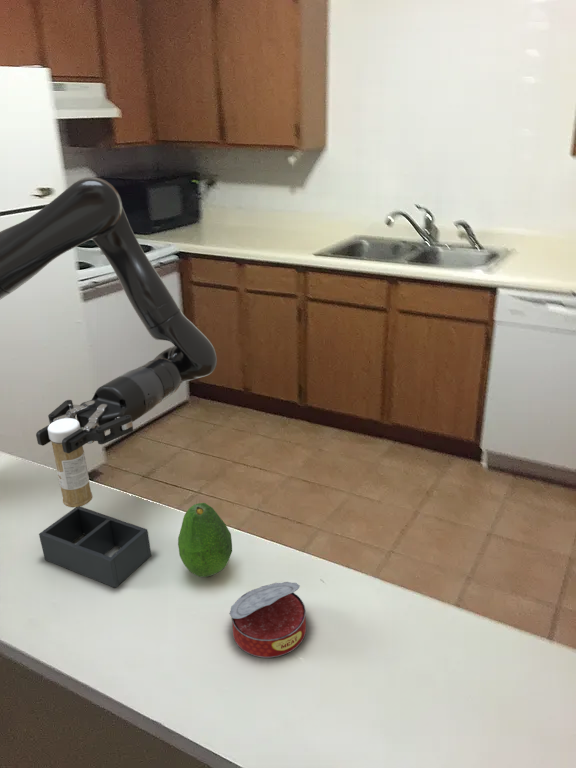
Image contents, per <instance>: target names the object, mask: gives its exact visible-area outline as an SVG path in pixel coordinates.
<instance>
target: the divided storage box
mask: <svg viewBox="0 0 576 768" xmlns="http://www.w3.org/2000/svg"><path fill="white" fill-rule="evenodd" d="M82 535H85V536H83V537H82ZM38 536H39V541H40V545H41V549H42V555H43V558H44V560H45V561H47V562H50V563H52V564H53V565H54V564H55V565H57V566H59V567H62V568H63V569H67V570H70V571H71V572H74V573H77V574H79V575H81V576H84V577H87V578H89V579H92V580H94V581H97V582H99V583H102V584H104V585H107V586H109V587H112V588H114V589H116V588H117V587H118V586H119V585H120V584H122V583H123V582H124V581H125V580H127V578H128V577H130V575H132V574H133V573H134V572H135V570H137V569H138V568H139V567H140V566H141V565H142V564H143V563H145V562H147V560H148V559H149V558H150V557H152V550H151V544H150V537H149V530H148V528H145V527H142V526H139V525H135V524H133V523H130V522H127V521H124V520H121V519H119V518H115V517H113V516H109V515H106V514H103V513H101V512H98V511H95V510H92V509H89V508H86V507H83V506H80V507H73V508H72V509H71V510H69V512H66V514H63V516H61V517H60V518H58V519H57V520H56V521H54V522H53V523H51V524H50V525H49V526H47V527H46V528H45V529H43V530H42V531H41V532H40V533H38ZM80 537H82V538H81V539H80V540H78V541H77V542H74V541H76V540H77V539H78V538H80ZM114 547H117V548H119V549H118V550H116V552H114V553H113V554H112V555H111V556H109V555H105V554H106V553H108V552H109V551H110V550H112V548H114Z"/></svg>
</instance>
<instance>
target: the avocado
mask: <svg viewBox="0 0 576 768" xmlns="http://www.w3.org/2000/svg"><path fill="white" fill-rule="evenodd" d="M179 530H180V531H179V534H178V538H177V545H178V554H179V557H180V559H181V561H182V563H183V565H184V566H185V568H186V569H187V570H188V571H189V572H190V573H191V574H193V575H195V576H197V577H201V578H202V577H206V578H207V577H211V576H213V575H216V574H218V573H219V572H221V571H222V570H224V569H225V568H226V566H227V565H228V563H229V561H230V559H231V556H232V553H233V541H232V533H231V531H230V530H229V527H228V526H227V524H226V523H225V522H224V520H223V519H222V518H221V517H220V515H219V514H218V512H217V511H216V510H215V509H214V508H213V507H212V506H211V505H209V504H207V503H206V502H198V503H195V504H193V505H191V506H190V507H189V508H188V509H187V511H186V512H185V513H184V515H183V518H182V522H181V527H180V529H179Z"/></svg>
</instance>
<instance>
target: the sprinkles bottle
mask: <svg viewBox="0 0 576 768" xmlns="http://www.w3.org/2000/svg"><path fill="white" fill-rule="evenodd" d="M48 425H49V426H48ZM48 425H47V426H48V434H49V439H50V440H51V442H50V443H51V446H52V450H53V456H54V463H55V469H56V473H57V478H58V483H59V486H60V490H61V496H62V503H63V505H65V506H66V507H67V508H75V507H83V506H85V505H88V504H89V503H90V502H91V501H92V499H93V498H94V496H93V495H94V494H93V492H92V490H91V485H90V477H89V470H88V464H87V460H86V459H87V458H86V455H85V450H84V445H83V446H81V447H80V448H78V449H77V450H74V451H72V452H71V453H65V452H64V451H63V447H62V440H63V439H64V438H66V437H68V436H69V435H71V434H73V433H74V432H76V431H78V430H79V429H81V428H80V424H79V422H78V421H77V418H75V419H72V418H64V419H59V420H56V421H54V422H52V423H51V424H50V423H49V424H48Z"/></svg>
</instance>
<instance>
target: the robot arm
mask: <svg viewBox="0 0 576 768" xmlns="http://www.w3.org/2000/svg"><path fill="white" fill-rule="evenodd" d="M90 240H92V241H93V242H94V243H95V244H96V246H97V247H98V248H99V249H100V251H101V253H103V255H104V256H105V258H106V259H107V261H108V263H109V264H110V266H111V268H112V270H113V271H114V273H115V276H116V278H117V279H118V281H119V283H120V285H121V287H122V290H123V291H124V293H125V296H126V297H127V300H128V301H129V303H130V304H131V306H132V308H133V310H134V311H135V313H136V315H137V316H138V318H139V320H140V321H141V323H142V324H143V326H144V327H145V329H146V331H147V332H148V334H149V336H150V337H151V338H152V339H154V340H156V341H164V342H165V341H166V342H170V343H171V344H172V345H173V346H170V347H168V348H166V349H164V350H162V351H161V352H160V353H159V354H157V355H156V356H155V357H154V358H153V359H152V360H149V361H147V362H146V363H144V364H141V365H140V366H138V367H137V368H136V367H135V368H134V369H131V370H128V371H126V372H124V373H123V374H121V375H119V376H117V377H115V378H113V379H111V380H109V381H108V382H106V383H104V384H102V385H101V386H99V387H98V388H97V389H96V391H95V392H94V395H93V397H92V398H91V399H89V400H86V401H83V402H81V403H80V404H74V403H73V400H72V399H67V400H65V401H63V402H62V403H60V404H59V406H57V407H55V409H53V411H51V412H50V413H49V414H48V415H47V416H48V422H49V424H48V425H46V426H44V427H43V428H41V429H39V430H37V432H36V433H35V436H36V441H37V444H38V445H40V446H43V447H44V446H46V445H47V444H49V443H52V442H51V440H50V439H49V434H48V426H49V425H50V424H51V423H52V422H54V421H56V420H59V419H64V418H72V419H76V420H77V421H78V422H79V424H80V428H81V429H79V430H78V431H76V432H74V433H73V434H71V435H69V436H68V437H66V438H64V439H63V440H62V447H63V451H64V452H65V453H71V452H72V451H74V450H77V449H78V448H80V447H81V446H83V447H84V445H86V444H89V445H90V444H93V443H95V442H97V444H98V445H104V444H107V443H109V442H112V441H114V440H116V439H118V438H121V437H123V436H124V435H128V434H129V433H132V432H133V431H134V424H133V423H134V422H135V421H137V420H138V419H140V418H141V417H143V416H144V415H146V414H147V413H149V412H151V411H152V410H153V409H154V408H156V406H158V405H159V404H160V403H162V402H163V401H165V400H166V399H168V398H169V397H171V396H172V395H174V394H175V393H176V392H177V391H178V389H179V388H180V386H181V384H184V383H187V382H190V381H193V380H197V379H200V378H204V377H207V376H209V375H211V374H212V373H214V371H215V370H216V368H217V366H218V357H217V353H216V349H215V347H214V346H213V344H212V342H211V340H209V338H207V336H206V335H205V334H204V333H203V332H202V331H201V330H200V329H199V328H198V327H197V326H196V325H195V324H194V323H193V322H192V321H191V320H190V319H188V318H187V316H186V315H185V314H184V313H183V312H182V309H181V308H180V307H179V305H178V303H177V301H176V299H175V297H174V296H173V295H172V293H171V292H170V289H169V288H168V286H167V285H166V284H165V282H164V280H163V279H162V278H161V276H160V274H159V273H158V272H157V269H156V268H155V267H154V265H153V264H152V262H151V260H149V257H148V256H147V255H146V253H145V252H144V250H143V247H142V246H141V245H140V243H139V241H138V239H137V237H136V235H135V233H134V231H133V228H132V226H131V224H130V222H129V219H128V217H127V214H126V212H125V209H124V206H123V202H122V198H121V195H120V194H119V191H118V190H117V189H116V188H115V186H114V185H112V183H111V182H108V181H107V180H105V179H104V178H100V177H97V176H95V177H94V176H89V177H88V176H87V177H83V178H80V179H78V180H76V181H74V182H73V183H71V184H70V185H69V186H68V187H67V188H66V189H65V190H64V191H63V192H62V193H60V194H59V195H58V196H57V197H55V198H54V199H53V200H52V201H50V202H49V203H48V204H46V205H45V206H44V207H42V208H41V209H39V210H38V211H37V212H36V213H34V214H33V215H31V216H30V217H28V218H27V219H25V220H23V221H21V222H18V223H16V224H14V225H11V226H10V227H7V228H5V229H3V230H0V300H2V299H3V298H5V297H7V296H8V295H10V294H11V293H13V292H14V291H16V290H17V289H19V288H21V287H22V286H23V285H24V284H26V283H27V282H28V281H30V280H31V279H32V278H33V277H35V276H36V275H37V274H38V273H40V272H41V271H42V270H43V269H44V268H45V267H47V265H49V264H51V262H53V261H54V260H56V259H57V258H58V257H60V256H61V255H63V254H65V253H67V252H68V251H71V250H72V249H74V248H76V247H78V246H80V245H82V244H84V243H87V242H89V241H90ZM108 431H109V434H106V432H108Z"/></svg>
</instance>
